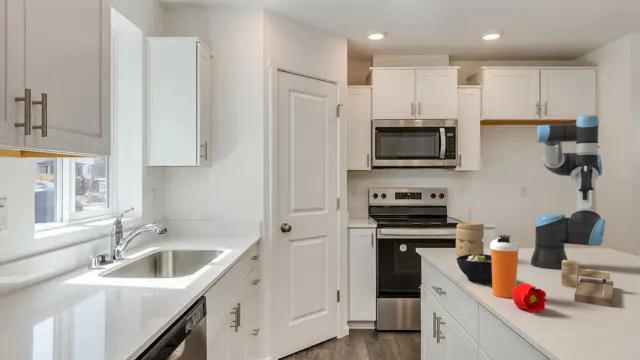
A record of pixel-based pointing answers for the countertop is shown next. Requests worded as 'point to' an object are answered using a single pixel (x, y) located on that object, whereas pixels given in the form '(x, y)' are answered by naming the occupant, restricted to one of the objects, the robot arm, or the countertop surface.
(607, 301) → the plank
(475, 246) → the container
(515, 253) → the shaker bottle
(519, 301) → the flower
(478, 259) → the bowl
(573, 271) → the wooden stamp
